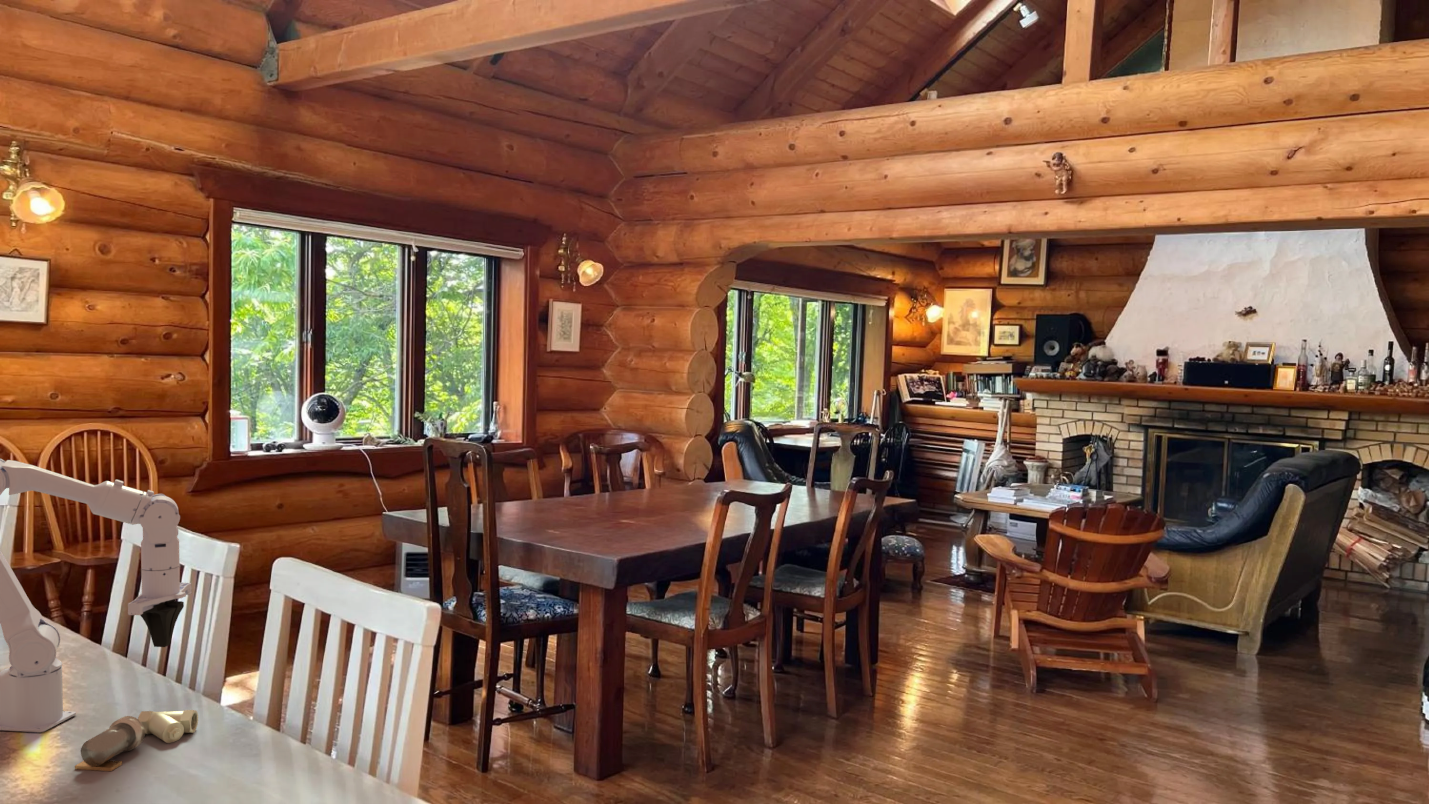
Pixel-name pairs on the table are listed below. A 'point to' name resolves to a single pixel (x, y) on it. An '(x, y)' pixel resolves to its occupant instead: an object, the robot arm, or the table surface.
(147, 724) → the pipe fitting
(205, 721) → the table surface
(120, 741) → the pipe stub
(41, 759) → the table surface
